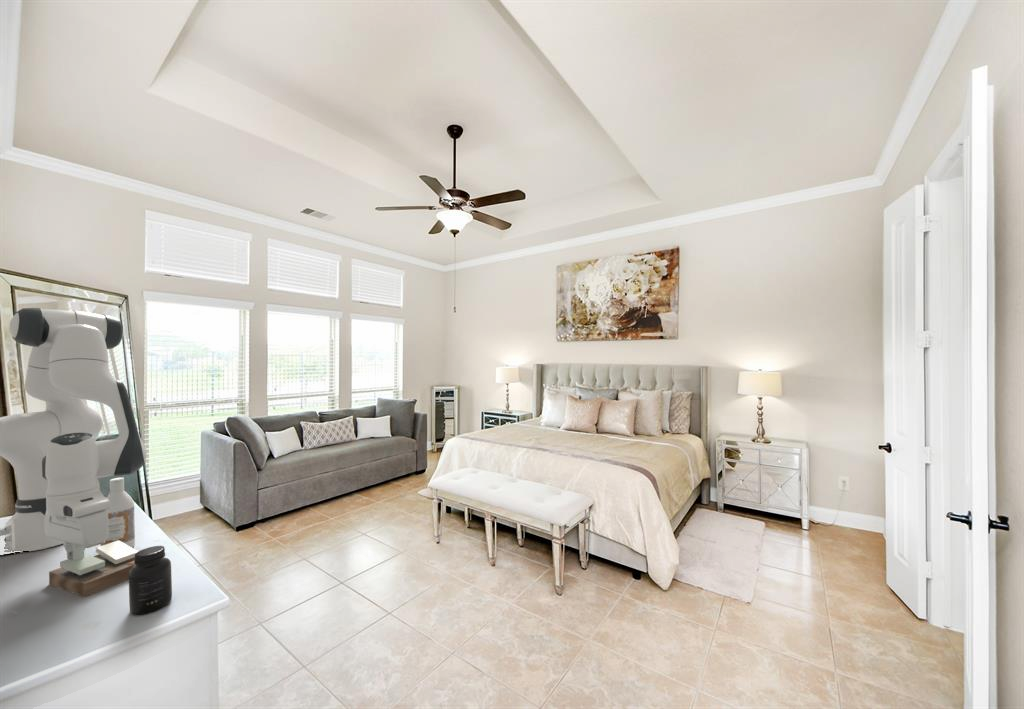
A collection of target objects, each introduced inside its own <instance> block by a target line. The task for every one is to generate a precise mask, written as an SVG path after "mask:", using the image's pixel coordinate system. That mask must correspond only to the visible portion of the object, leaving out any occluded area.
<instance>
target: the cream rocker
mask: <svg viewBox="0 0 1024 709" xmlns="http://www.w3.org/2000/svg"><path fill="white" fill-rule="evenodd" d="M138 551H139V550H137V549H135V548H134V547H132V548H131V547H130V546H128V545H126V544H124V543H123V542H121V541H119V540H118V541H115V542H112V543H109V544H106V545H103V546H101V545H99V546H96V547H95V553H96V554H97V555H99V554H100V555H101V556H103V557H104V558H106V559H108V560H109V561H111V562H113V563H114V564H118V563H121V562H123V561H126V560H129V559H131V558H134V557H135V554H136V553H137V552H138Z"/></svg>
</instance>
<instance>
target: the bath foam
mask: <svg viewBox="0 0 1024 709" xmlns="http://www.w3.org/2000/svg"><path fill="white" fill-rule="evenodd" d="M105 497H106V498H107V499H108V500H109V501H110V508H108V509H105V510H106V511H107V513H108V537H107V539H106V541H105V542H104V543H102V544H99V546H103V545H106V544H109V543H112V542H115V541H118V540H119V541H121V542H123V543H124V544H126V545H128V546H130V547H131V548H134V546H135V545H136V543H135V542H136V537H135V536H136V534H135V531H136V530H135V528H136V526H135V502H134V499H133V497H132V496H131V495H130V494H129V493H128V492H127V491H125V477H115V478H111V479H110V480H109V493H108V495H107V496H105Z"/></svg>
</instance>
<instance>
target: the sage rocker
mask: <svg viewBox="0 0 1024 709" xmlns="http://www.w3.org/2000/svg"><path fill="white" fill-rule="evenodd" d="M93 556H94V555H90V554H87V553H85V552H84V558H82V559H79V560H76V561H74V560H71V559H64V560H62V561H59V568H61V567H62V568H64V569H66V570H69V571H71V572H73V573H76V574H78V575H82V574H85V573H88V572H90V571H93V570H96V569H99V568H101V567H104V566H105V561H104V560H101V559H98V558H96V557H93Z"/></svg>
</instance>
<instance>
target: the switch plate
mask: <svg viewBox="0 0 1024 709" xmlns="http://www.w3.org/2000/svg"><path fill="white" fill-rule="evenodd" d="M92 556H93V557H96V558H98V559H101V560H104V561H105V566H104V567H101V568H99V569H96V570H93V571H90V572H88V573H85V574H82V575H78V574H76V573H73V572H71V571H69V570H66V569H64V568H62V567H58V568H56V569H53V570H50V571H48V576H49V579H48V581H49V582H48V583H49V585H51V586H53V587H56V588H59V589H60V590H64V591H66V592H69V593H72V592H73V593H72V594H75V595H77V594H78V596H80V597H84V598H86V596H87V597H89V596H91V594H92V595H94V594H96V593H98V592H102V591H104V590H106V589H109V588H111V587H114V586H116V585H118V584H120V583H123V582H125V581H127V580H128V581H129V572H130V570H131V569H132V568H133V567H134V566H135V564H134V561H135V557H134V558H131V559H129V560H126V561H123V562H121V563H118V564H114V563H113V562H111V561H109V560H108V559H106V558H104V557H103V556H101V555H100V554H97V555H92Z"/></svg>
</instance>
